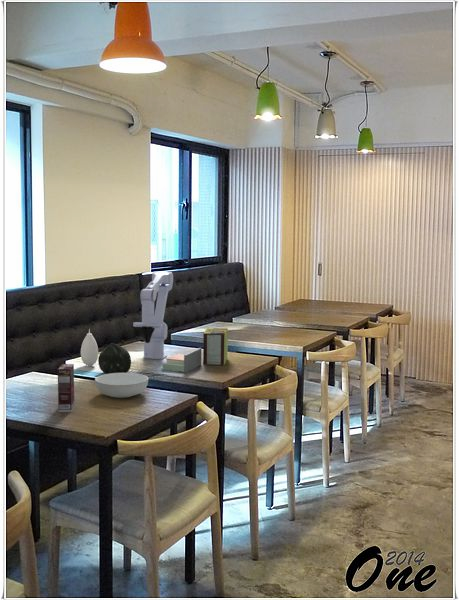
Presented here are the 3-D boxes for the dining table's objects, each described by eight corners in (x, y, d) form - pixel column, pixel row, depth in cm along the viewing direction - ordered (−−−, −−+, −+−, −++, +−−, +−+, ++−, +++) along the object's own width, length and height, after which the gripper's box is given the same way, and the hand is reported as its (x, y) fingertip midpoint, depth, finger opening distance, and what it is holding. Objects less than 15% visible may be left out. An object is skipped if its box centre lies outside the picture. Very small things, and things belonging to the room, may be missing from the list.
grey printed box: (162, 369, 304) (162, 352, 304) (178, 362, 321) (178, 345, 320) (186, 372, 300) (186, 355, 299) (201, 364, 317) (201, 348, 316)
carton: (166, 369, 307) (166, 358, 306) (176, 364, 318) (176, 353, 318) (186, 371, 304) (186, 360, 303) (196, 366, 315) (196, 355, 314)
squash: (130, 356, 306) (109, 334, 300) (141, 364, 293) (120, 341, 287) (108, 378, 303) (86, 356, 296) (118, 387, 290) (96, 364, 283)
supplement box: (61, 405, 245) (61, 363, 243) (74, 405, 245) (74, 363, 243) (57, 412, 236) (57, 369, 234) (71, 412, 237) (70, 369, 235)
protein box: (227, 358, 332) (228, 328, 330) (224, 365, 316) (224, 333, 314) (206, 357, 333) (207, 327, 331) (202, 364, 317) (203, 332, 315)
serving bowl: (158, 392, 266) (158, 375, 266) (129, 405, 247) (129, 387, 247) (114, 385, 275) (114, 369, 274) (84, 398, 256) (83, 380, 255)
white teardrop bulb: (88, 368, 304) (88, 330, 302) (77, 366, 308) (77, 328, 306) (101, 366, 310) (101, 328, 308) (90, 363, 315) (90, 326, 312)
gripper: (130, 314, 312) (130, 342, 313) (158, 316, 308) (158, 345, 309) (137, 312, 319) (136, 340, 320) (164, 314, 314) (164, 342, 316)
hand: (147, 342), depth 315 cm, fingers closed
